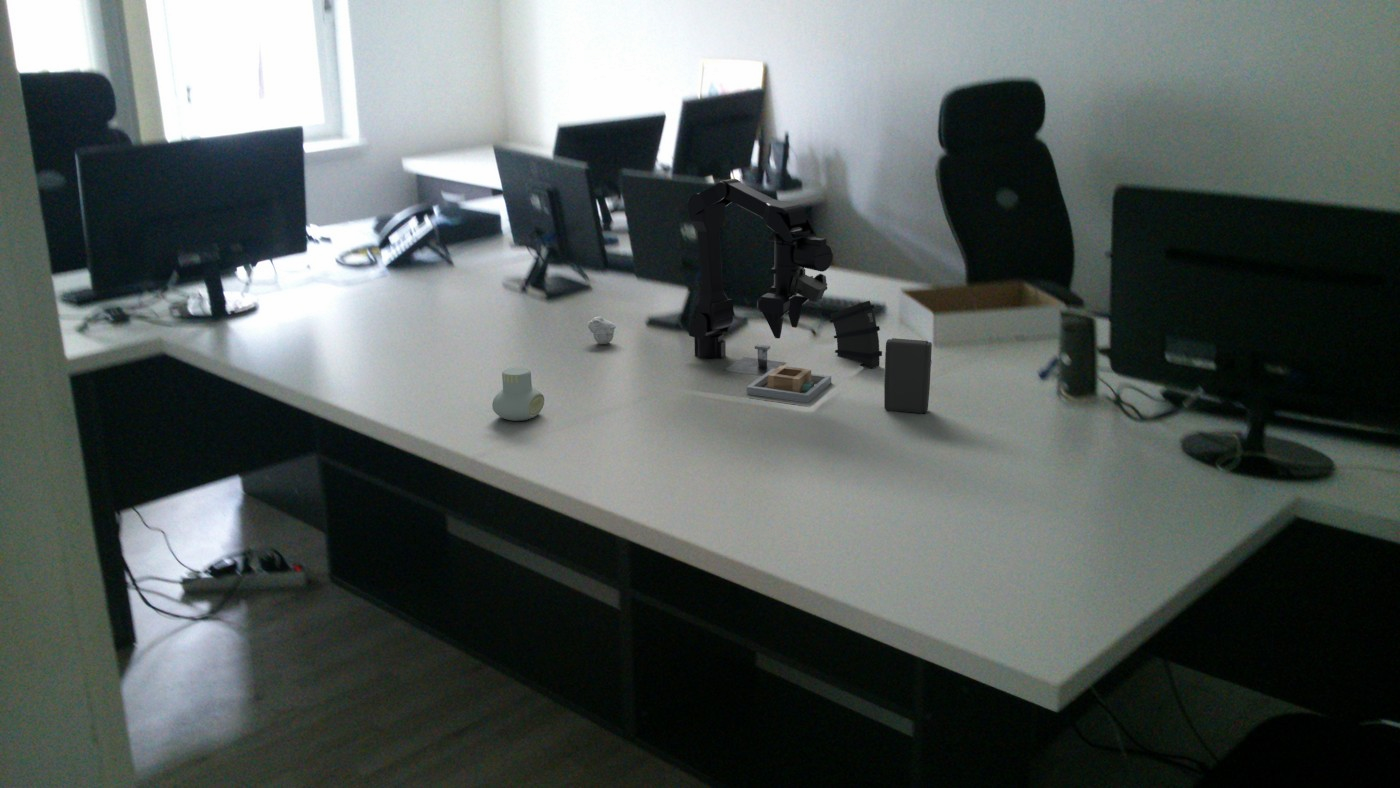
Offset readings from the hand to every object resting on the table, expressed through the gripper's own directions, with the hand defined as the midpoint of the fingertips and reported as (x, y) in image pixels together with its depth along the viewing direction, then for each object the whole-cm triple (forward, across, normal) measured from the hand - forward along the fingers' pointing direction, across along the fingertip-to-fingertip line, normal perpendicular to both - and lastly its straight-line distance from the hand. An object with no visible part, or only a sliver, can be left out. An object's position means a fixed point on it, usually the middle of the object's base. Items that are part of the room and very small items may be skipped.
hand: (786, 332), depth 263 cm
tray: (+11, -6, -4) cm, 13 cm away
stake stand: (+12, +5, +10) cm, 16 cm away
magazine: (+12, +21, -9) cm, 25 cm away
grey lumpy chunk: (+13, +8, +53) cm, 55 cm away
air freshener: (+12, -43, +41) cm, 61 cm away
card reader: (+11, -6, -30) cm, 33 cm away
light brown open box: (+11, -6, -4) cm, 13 cm away
